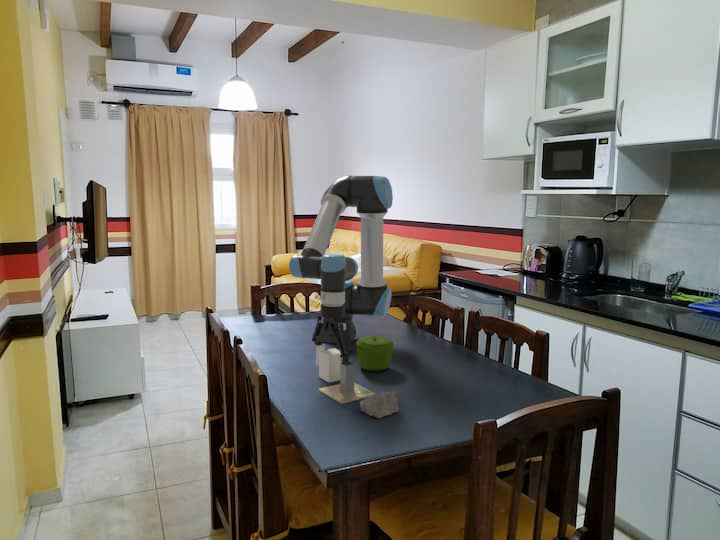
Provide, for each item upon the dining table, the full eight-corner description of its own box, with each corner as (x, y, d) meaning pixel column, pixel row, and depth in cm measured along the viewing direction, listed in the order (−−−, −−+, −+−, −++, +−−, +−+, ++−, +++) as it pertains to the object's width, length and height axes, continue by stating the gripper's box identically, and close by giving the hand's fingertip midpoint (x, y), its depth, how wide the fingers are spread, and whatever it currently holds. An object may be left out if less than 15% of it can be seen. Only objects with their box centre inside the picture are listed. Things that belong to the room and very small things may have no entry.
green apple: (366, 377, 170) (367, 342, 168) (349, 365, 181) (350, 333, 179) (399, 371, 176) (400, 338, 174) (381, 361, 186) (382, 329, 185)
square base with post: (351, 382, 164) (352, 354, 163) (375, 395, 155) (376, 365, 154) (318, 390, 157) (319, 361, 156) (341, 404, 148) (342, 373, 147)
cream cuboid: (334, 373, 172) (334, 348, 171) (344, 379, 168) (344, 352, 166) (318, 377, 169) (319, 351, 168) (328, 382, 164) (329, 355, 163)
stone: (355, 410, 144) (356, 389, 143) (386, 404, 149) (387, 384, 148) (371, 421, 137) (372, 400, 136) (402, 415, 142) (403, 394, 141)
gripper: (302, 298, 173) (301, 361, 175) (345, 313, 153) (343, 384, 155) (321, 296, 177) (320, 358, 180) (366, 310, 157) (364, 379, 160)
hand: (331, 370), depth 168 cm, fingers open, 13 cm apart
